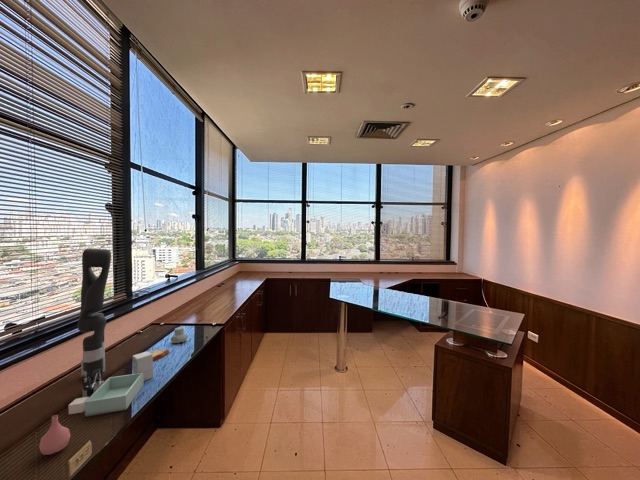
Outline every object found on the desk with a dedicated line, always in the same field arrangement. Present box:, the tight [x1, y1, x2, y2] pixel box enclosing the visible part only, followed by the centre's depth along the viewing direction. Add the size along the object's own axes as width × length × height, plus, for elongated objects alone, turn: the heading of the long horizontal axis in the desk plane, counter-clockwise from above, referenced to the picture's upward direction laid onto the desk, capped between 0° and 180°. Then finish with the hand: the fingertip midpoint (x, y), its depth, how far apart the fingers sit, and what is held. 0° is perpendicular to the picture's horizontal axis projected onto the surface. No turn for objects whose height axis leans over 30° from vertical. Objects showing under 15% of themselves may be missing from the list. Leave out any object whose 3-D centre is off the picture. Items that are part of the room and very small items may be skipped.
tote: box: [84, 373, 144, 418], centre depth 124 cm, size 15×22×6 cm
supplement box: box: [132, 351, 154, 382], centre depth 143 cm, size 7×7×13 cm
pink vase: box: [38, 414, 72, 456], centre depth 93 cm, size 8×8×12 cm
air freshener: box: [170, 326, 189, 344], centre depth 195 cm, size 11×8×10 cm
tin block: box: [81, 379, 105, 398], centre depth 128 cm, size 6×6×5 cm
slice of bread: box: [149, 348, 170, 363], centre depth 168 cm, size 18×18×4 cm
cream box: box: [68, 397, 89, 415], centre depth 117 cm, size 5×5×4 cm
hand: (93, 393), depth 128 cm, fingers closed on tin block, 6 cm apart
